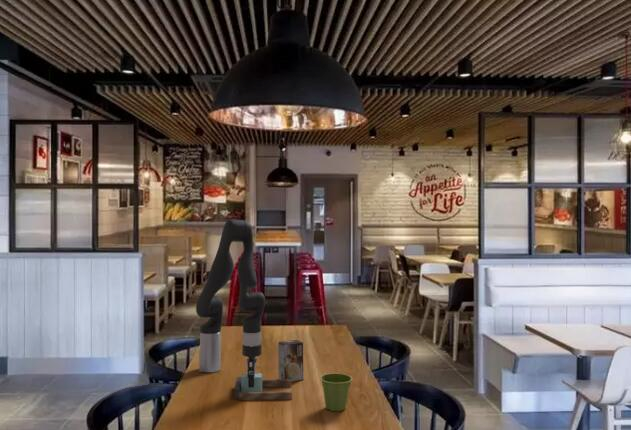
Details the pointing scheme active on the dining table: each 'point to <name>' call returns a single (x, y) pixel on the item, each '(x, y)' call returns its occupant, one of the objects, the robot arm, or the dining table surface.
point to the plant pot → (336, 390)
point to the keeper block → (257, 383)
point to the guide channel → (263, 395)
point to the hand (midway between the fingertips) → (251, 383)
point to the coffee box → (290, 360)
